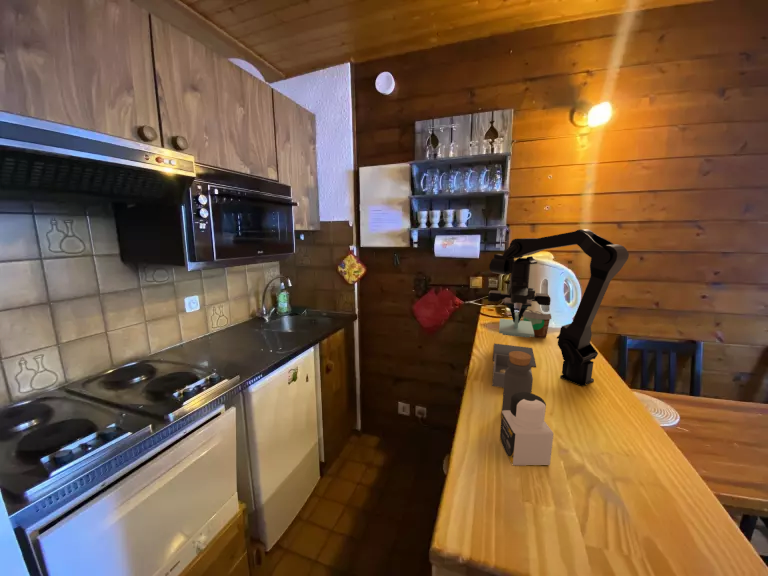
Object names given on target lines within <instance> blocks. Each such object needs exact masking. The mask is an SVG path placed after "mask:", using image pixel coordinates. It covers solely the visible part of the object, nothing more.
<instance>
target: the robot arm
mask: <svg viewBox="0 0 768 576" xmlns="http://www.w3.org/2000/svg"><path fill="white" fill-rule="evenodd" d="M569 246H578V247H579V248H580V249H581V250H582V251H583V253H584V254H585V255H587V256H588V257H589V258H590V263H589V271H590V272H589V273H590V277H589V279H588V282H587V285H586V287H585V290H584V292H583V294H582V296H581V299H580V302H579V304H578V307H577V309H576V312H575V314H574V317H573V320H572V321H571V323H568V324H564V325H561V327H560V331H559V334H558V336H557V337H556V339H557V347H558V348H559V349H560V352H561V357H562V360H563V361H562V367H561V369H562V370H561V375H560V376H559V378H560V379H563V380H565V381H568V382H570V383H573V384H575V385H578V386H581V387H586V386H587V385H589V384H591V383H593V382H594V381H595V380H594V378H593V377H592V376H593V369H594V362H595V361H592V360H595V359H596V358H597V357H598V355H599V352H598V351H597V349H596V348H595V347H594V345H592V343H591V341H592V336H593V335H592V333H593V332H592V325H593V322H594V321H595V318H596V316H597V313H598V311H599V308H600V306H601V303H602V302H603V299H604V296H605V295H606V293H607V290H608V288H609V285H610V283H611V281H612V280H613V278H614V277H615V276H616V275H617V274H618V273H619V272H620V271H621V270H622V268H623V267H624V266H625V264H626V262H627V261H628V259H629V254H630V253H629V251H628V250H627V248H626V247H625V246H623V245H622V244H618V243H617V244H616V243H614V242H612V241H610V240H608V239H606V238H605V237H602V236H601V235H599V234H597V233H595V232H594V231H592V230H591V229H586V228H585V229H576V230H575V231H570V232H564V233H560V234H554V235H548V236H543V237H526V238H525V237H524V238H521V237H520V238H514V239H512V240H511V242H510V243H509V247H507V249H506V250H505V252H504V253H503V254H501V253H495V254H494V255H493V258H492V259H491V261H490V262H489V265H488V267H489V270H490V273H492V274H498V275H504V276H508V275H510V279H509V291H508V293H502V290H495V289H493V290H491V289H490V291H489V292H488V297H487V298H488V299H487V301H489V302H496V303H499V302H500V301H501V300H504V305H505V306H508V309H509V311H510V315H511V318H512V320H513V322H515V313H516V312H515V311H516V310H515V304H520V306H519V308H518V309H519V310H518V316H519V319H518V323H519V322H520V321H522V320H521V319H522V317H523V313H524V311H525V310H526V308H527V309H528V308H529V307H532V306H533V305H532V303H533V302H536V303H537V304H538V305H539V306H551V299H552V298H551V297H550V294H548V293H542V292H540V293H539V292H536V288H533V287H529V284H530V274H531V273H530V272H531V265H537V264H538V261H537V260H536V259H535V258H534V257H533V256H532V255H535V254H537V253H539V252H542V251H544V250H551V249H556V248H557V249H558V248H563V247H569ZM526 256H527V257H526Z"/></svg>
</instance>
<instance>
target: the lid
mask: <svg viewBox="0 0 768 576" xmlns="http://www.w3.org/2000/svg"><path fill="white" fill-rule="evenodd" d="M518 314H519V312H515V322H513V319H508V318H507V319H505V318H499V329H498V331H499V332H498V333H499V334H502V336H503V335H504V336H510V337H511V336H512V337H520V338H529V339H530V338H531V337H532V338H535V337H534V335H535V334H534V331H533V327H532V323H531V321H523V320H520V322H519V323H518V319H519V316H518Z"/></svg>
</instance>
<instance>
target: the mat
mask: <svg viewBox="0 0 768 576" xmlns="http://www.w3.org/2000/svg"><path fill="white" fill-rule="evenodd" d="M533 350H534V349H533V347H526V346H521V345H519V346H518V345H512V344H510V345H508V344H502V343H501V344H500V343H494V345H493V353H492V362H494V356H495V354H502V355H509V353H510V352H512V351H521V352H525V353H528V354H529V355H531V360H530V363H531V368H537V363H536V358H535V355H534V351H533Z"/></svg>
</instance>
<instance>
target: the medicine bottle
mask: <svg viewBox="0 0 768 576" xmlns="http://www.w3.org/2000/svg"><path fill="white" fill-rule="evenodd" d="M546 406H547V404H546V401H545V400H544V399H543V398H542V397H541V396H539V395H537V394H534V393H532V392H531V393H528V392H517V393H515V394H513V395H512V396H511V406H510V410H503V411H502V410H501V417H500V418H501V419H500V431H499V441H500V444H501V446H502V447H503V450H504V452H505V454H506V456H507V458H508V460H509V462H510V464H511V465H512V464H513V465H512V466H526V465H549V466H550V465H551V459H552V452H553V451H552V449H553V441H554V431H553V430H552V429H551V427H550V426H549V425H548V423H547V422H546V421H545V418H546V417H545V416H546V408H547V407H546Z"/></svg>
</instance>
